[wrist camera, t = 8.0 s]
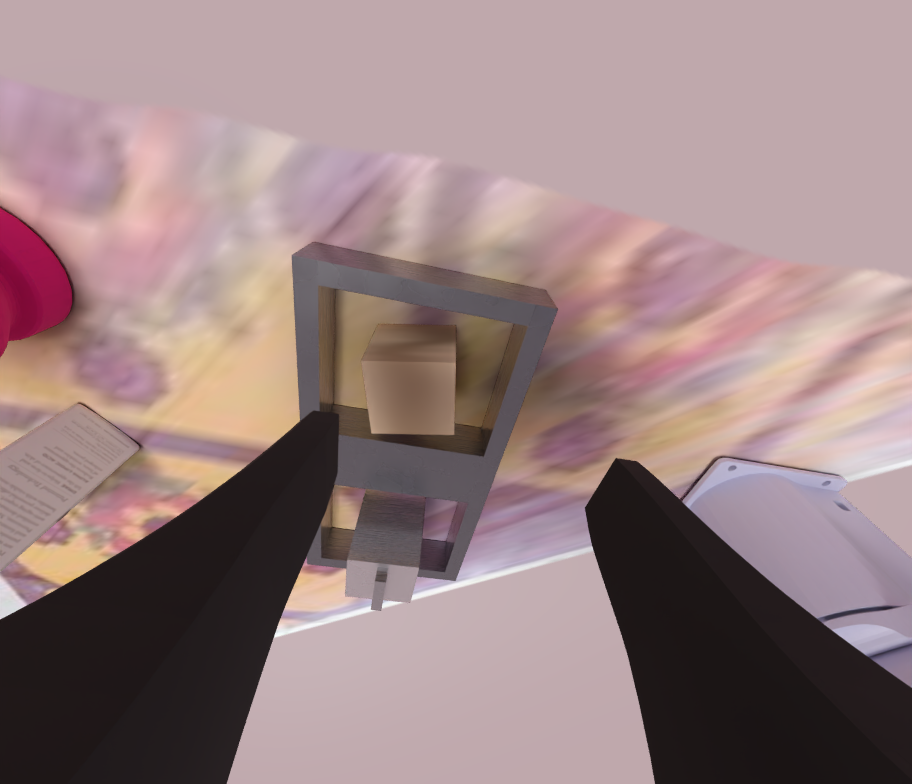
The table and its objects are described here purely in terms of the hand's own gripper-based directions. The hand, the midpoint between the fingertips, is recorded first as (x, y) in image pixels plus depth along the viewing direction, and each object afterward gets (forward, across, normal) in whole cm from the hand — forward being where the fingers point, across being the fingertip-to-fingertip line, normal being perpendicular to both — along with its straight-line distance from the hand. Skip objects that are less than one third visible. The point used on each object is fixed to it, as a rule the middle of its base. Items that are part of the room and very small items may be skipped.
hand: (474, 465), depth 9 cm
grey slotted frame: (+10, +2, +9) cm, 14 cm away
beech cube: (+10, +2, +3) cm, 11 cm away
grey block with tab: (+10, +2, +15) cm, 18 cm away
